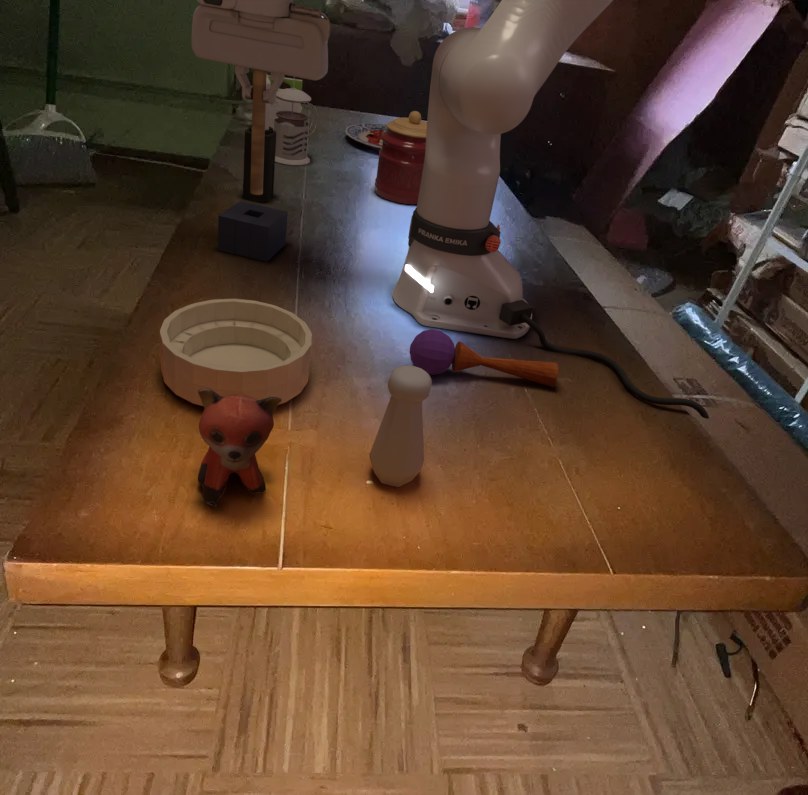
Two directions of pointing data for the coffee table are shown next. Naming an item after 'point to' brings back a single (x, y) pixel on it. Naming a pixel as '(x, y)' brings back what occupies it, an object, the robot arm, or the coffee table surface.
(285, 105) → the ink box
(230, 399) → the stuffed fox
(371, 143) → the ceramic plate
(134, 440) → the coffee table surface
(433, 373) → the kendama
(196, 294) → the coffee table surface
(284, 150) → the french press
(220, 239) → the stand
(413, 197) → the kitchen canister
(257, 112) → the stick
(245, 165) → the black and white bottle
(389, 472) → the salt shaker
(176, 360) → the bowl
